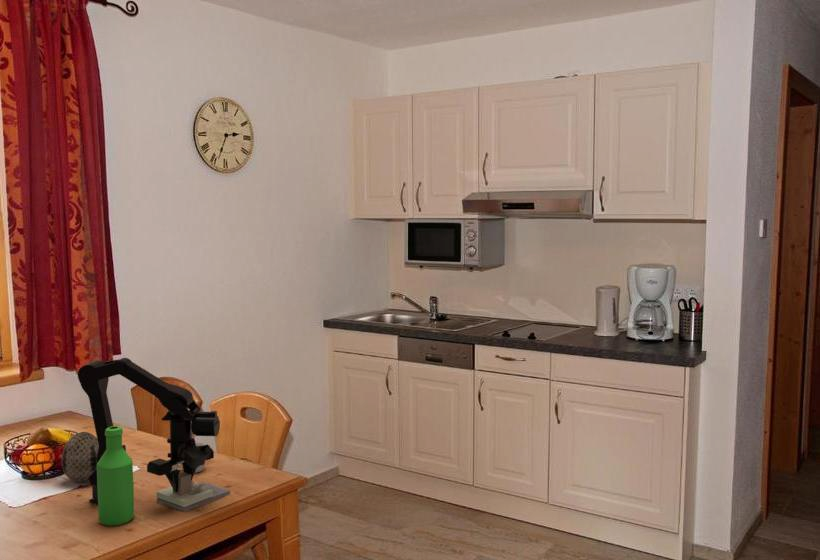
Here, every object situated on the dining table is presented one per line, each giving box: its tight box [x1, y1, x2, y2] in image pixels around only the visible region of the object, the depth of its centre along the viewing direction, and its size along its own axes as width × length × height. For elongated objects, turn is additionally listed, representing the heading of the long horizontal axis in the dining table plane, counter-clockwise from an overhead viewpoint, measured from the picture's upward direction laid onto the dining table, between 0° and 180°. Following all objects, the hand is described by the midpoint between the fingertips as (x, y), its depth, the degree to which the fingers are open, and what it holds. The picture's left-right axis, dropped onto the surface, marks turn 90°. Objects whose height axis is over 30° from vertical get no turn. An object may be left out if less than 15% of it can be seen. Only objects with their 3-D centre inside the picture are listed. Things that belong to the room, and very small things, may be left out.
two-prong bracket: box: [156, 471, 213, 507], centre depth 213 cm, size 10×12×7 cm
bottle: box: [97, 425, 135, 527], centre depth 199 cm, size 9×9×25 cm
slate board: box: [156, 479, 231, 513], centre depth 216 cm, size 16×12×4 cm
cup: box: [177, 441, 207, 474], centre depth 236 cm, size 11×8×8 cm
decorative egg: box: [61, 431, 99, 484], centre depth 227 cm, size 12×12×15 cm
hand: (182, 489), depth 212 cm, fingers closed on two-prong bracket, 4 cm apart
